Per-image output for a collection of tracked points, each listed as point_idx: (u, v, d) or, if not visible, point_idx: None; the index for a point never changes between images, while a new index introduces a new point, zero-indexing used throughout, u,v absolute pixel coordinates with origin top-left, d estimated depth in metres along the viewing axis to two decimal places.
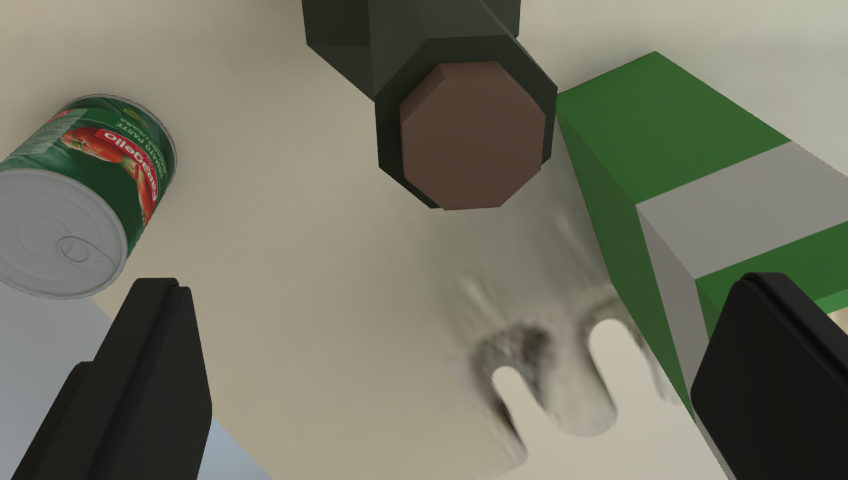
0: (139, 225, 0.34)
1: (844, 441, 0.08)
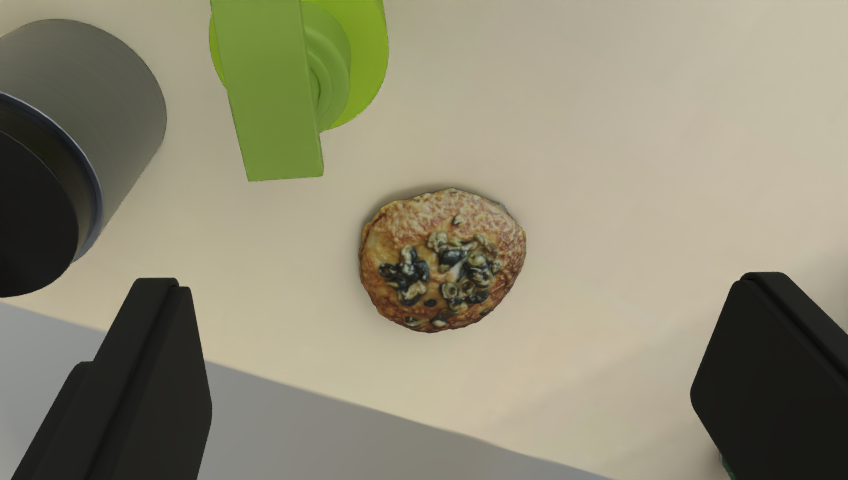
0: None
1: (844, 441, 0.08)
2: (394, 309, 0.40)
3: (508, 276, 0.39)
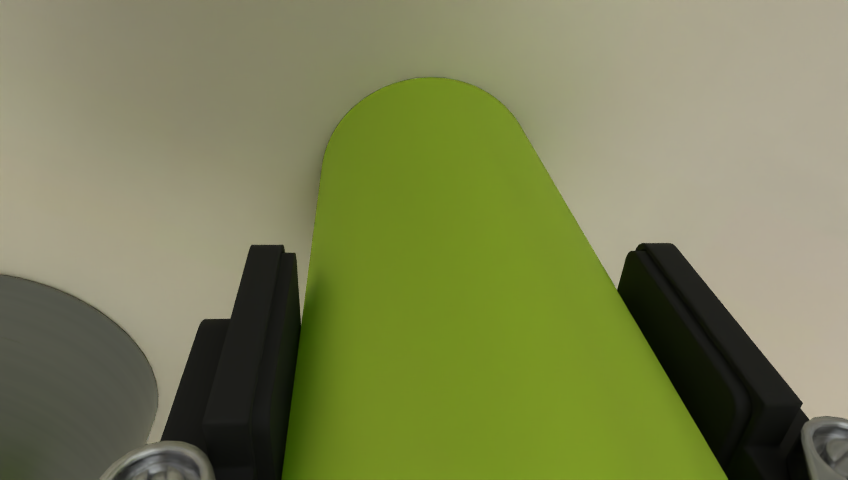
0: None
1: (702, 393, 0.09)
2: None
3: None
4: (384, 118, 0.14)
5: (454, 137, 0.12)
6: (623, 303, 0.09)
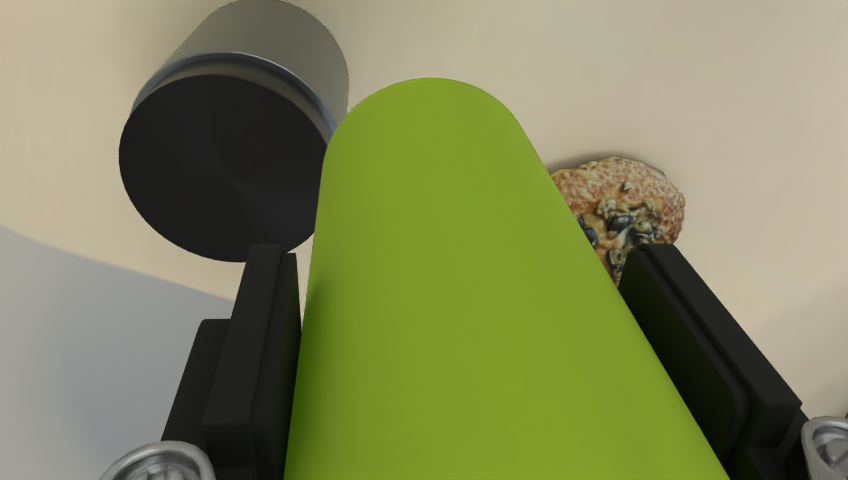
0: None
1: (702, 393, 0.09)
2: None
3: (668, 242, 0.40)
4: (385, 118, 0.14)
5: (455, 138, 0.12)
6: (625, 304, 0.09)
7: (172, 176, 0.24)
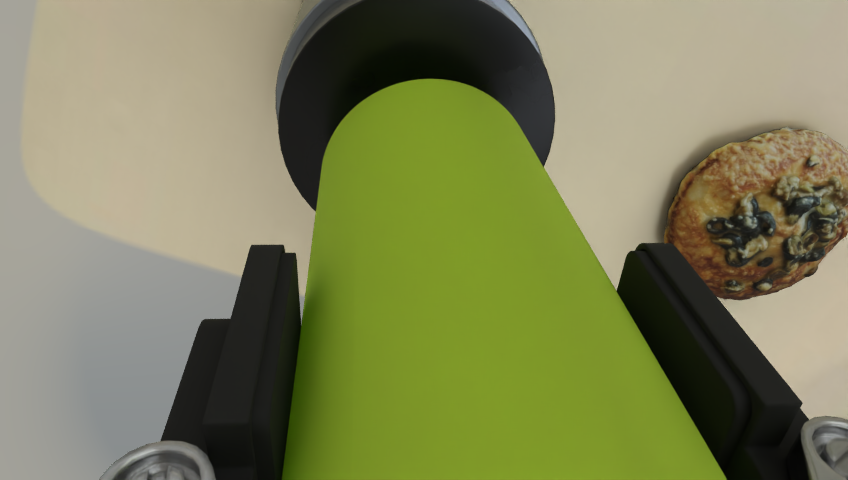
0: None
1: (702, 393, 0.09)
2: (712, 272, 0.34)
3: (846, 228, 0.34)
4: (384, 119, 0.14)
5: (454, 139, 0.12)
6: (623, 305, 0.09)
7: None
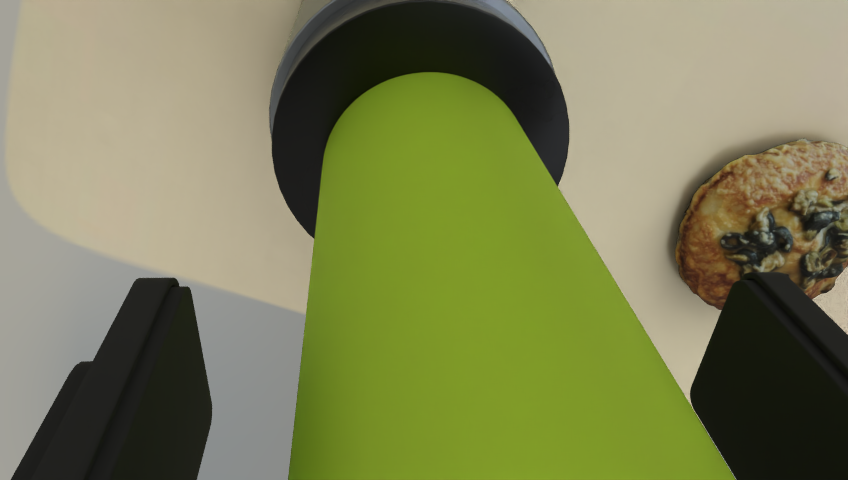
0: None
1: (844, 441, 0.08)
2: (726, 289, 0.33)
3: None
4: (384, 111, 0.14)
5: (452, 128, 0.13)
6: (616, 285, 0.10)
7: None
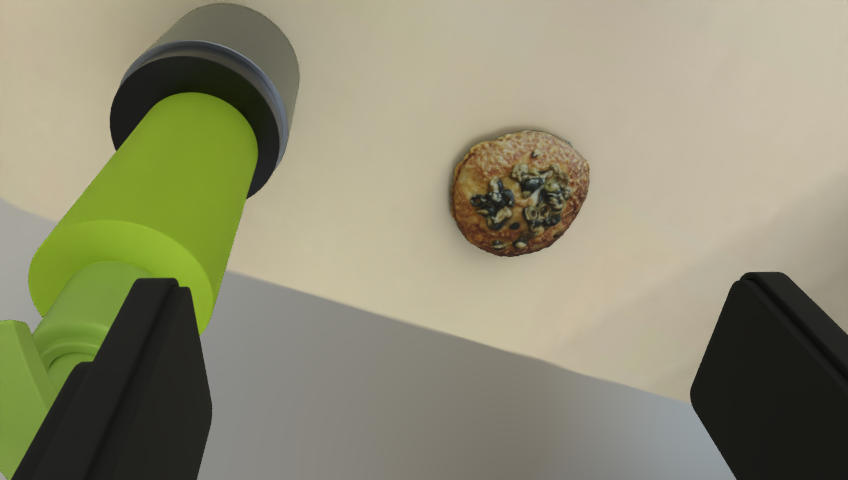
0: None
1: (844, 441, 0.08)
2: (482, 235, 0.47)
3: (577, 201, 0.47)
4: (153, 112, 0.28)
5: (172, 120, 0.27)
6: (209, 180, 0.24)
7: None
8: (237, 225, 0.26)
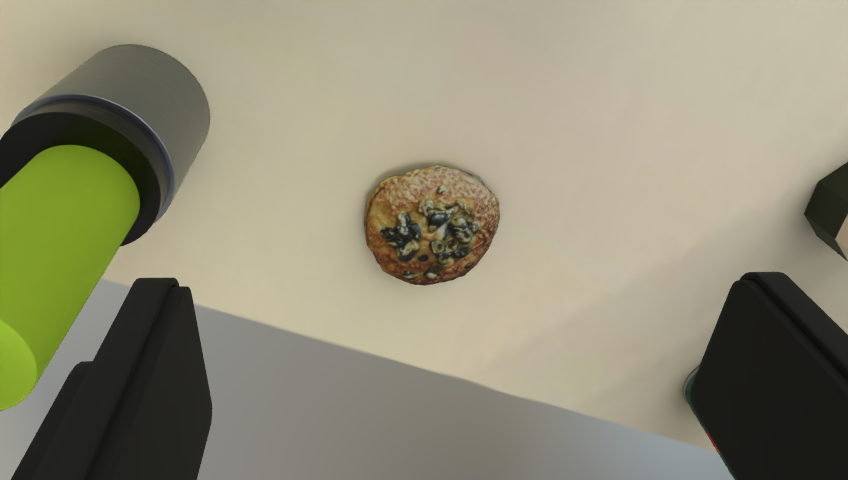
0: None
1: (844, 441, 0.08)
2: (394, 265, 0.49)
3: (486, 234, 0.49)
4: (25, 167, 0.30)
5: (36, 178, 0.29)
6: (54, 243, 0.26)
7: None
8: (92, 280, 0.28)
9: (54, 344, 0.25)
